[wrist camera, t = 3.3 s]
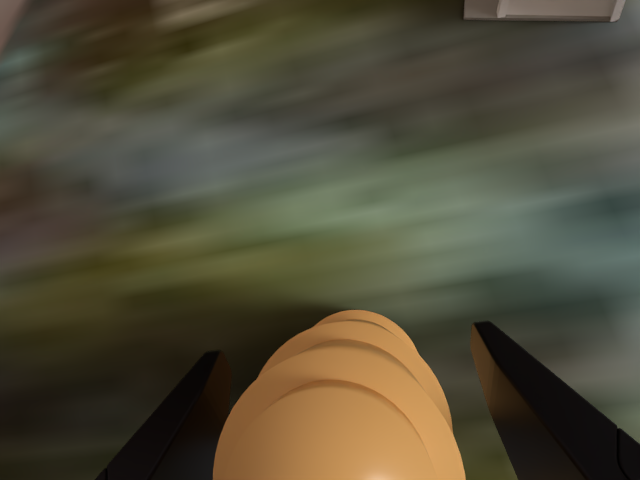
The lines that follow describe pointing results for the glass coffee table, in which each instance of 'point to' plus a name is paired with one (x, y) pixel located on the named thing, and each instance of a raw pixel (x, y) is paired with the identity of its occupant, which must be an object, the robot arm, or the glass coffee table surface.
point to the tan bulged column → (342, 410)
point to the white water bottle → (544, 10)
